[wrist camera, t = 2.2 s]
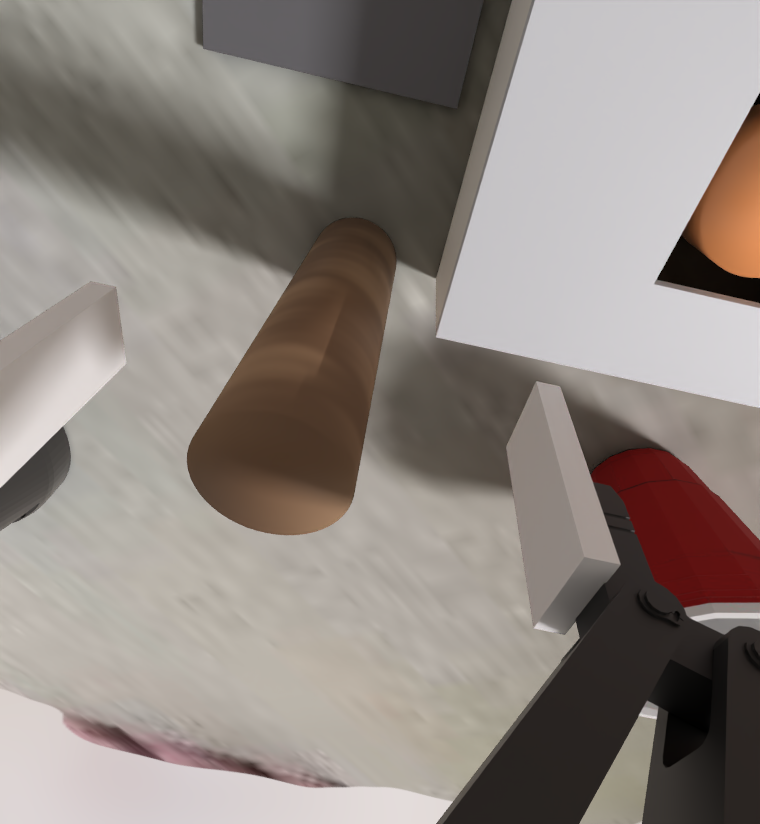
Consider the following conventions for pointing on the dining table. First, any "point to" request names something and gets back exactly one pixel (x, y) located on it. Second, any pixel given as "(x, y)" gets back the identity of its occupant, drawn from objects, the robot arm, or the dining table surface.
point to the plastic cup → (688, 539)
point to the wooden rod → (302, 392)
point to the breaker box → (604, 192)
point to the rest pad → (354, 40)
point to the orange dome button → (732, 206)
